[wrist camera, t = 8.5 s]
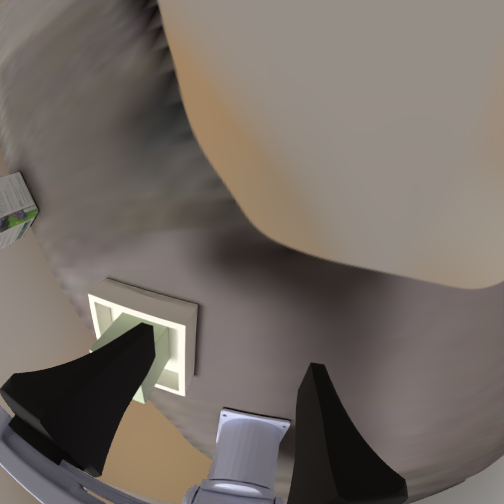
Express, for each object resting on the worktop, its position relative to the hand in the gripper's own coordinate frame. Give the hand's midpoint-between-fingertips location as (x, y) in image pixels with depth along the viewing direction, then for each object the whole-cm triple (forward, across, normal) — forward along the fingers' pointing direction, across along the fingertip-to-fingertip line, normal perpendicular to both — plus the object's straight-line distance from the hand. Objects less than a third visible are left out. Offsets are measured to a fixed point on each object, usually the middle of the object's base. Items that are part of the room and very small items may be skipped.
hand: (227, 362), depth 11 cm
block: (+9, +9, +9) cm, 15 cm away
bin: (+9, +9, +9) cm, 16 cm away
